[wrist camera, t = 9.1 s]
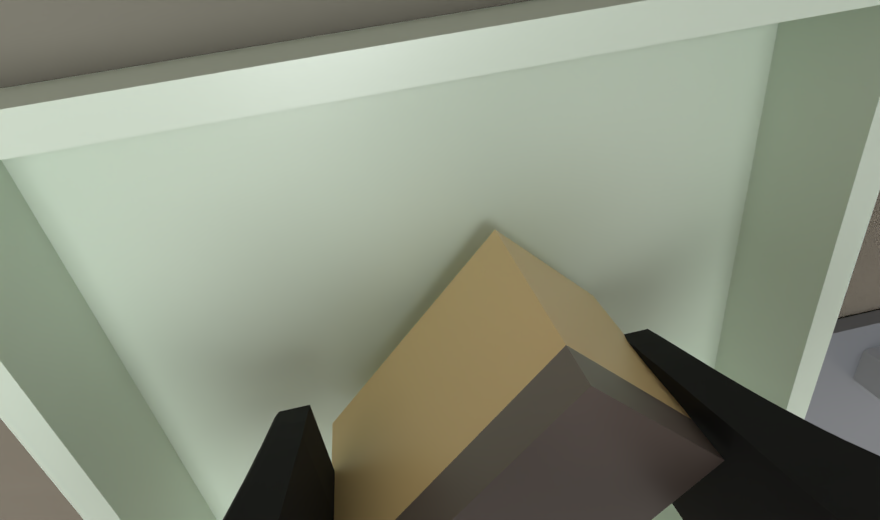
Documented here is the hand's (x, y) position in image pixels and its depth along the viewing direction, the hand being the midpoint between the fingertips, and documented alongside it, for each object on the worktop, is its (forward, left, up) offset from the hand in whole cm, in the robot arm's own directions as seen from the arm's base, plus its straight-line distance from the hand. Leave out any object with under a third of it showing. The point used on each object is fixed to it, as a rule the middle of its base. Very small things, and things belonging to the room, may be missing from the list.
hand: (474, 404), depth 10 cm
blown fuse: (0, 0, -1) cm, 1 cm away
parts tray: (0, 0, -3) cm, 3 cm away
